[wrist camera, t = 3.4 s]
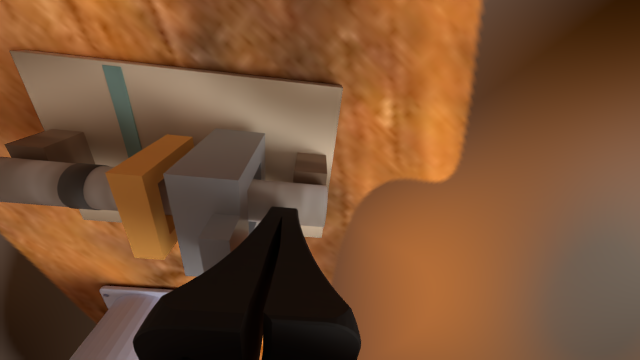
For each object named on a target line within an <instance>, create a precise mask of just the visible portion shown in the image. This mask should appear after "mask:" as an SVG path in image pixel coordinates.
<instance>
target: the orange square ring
mask: <svg viewBox="0 0 640 360" xmlns="http://www.w3.org/2000/svg"><path fill="white" fill-rule="evenodd" d="M193 148H194V143H193V137H189V136H179V135H168V134H167V135H165V136H164V137H162V138H160V139H159V140H157V141H155V142H154V143H152V144H151V145H149V146H147V147H146V148H144V149H143V150H141V151H139V152H138V153H136V154H135V155H133V156H131V157H130V158H128V159H127V160H125V161H123V162H122V163H120V164H119V165H117V166H115V167H114V168H112V169H110V170H109V171H107V172H106V173H105V174H106V177H107V180H108V183H109V186H110V189H111V192H112V194H113V197H114V200H115V203H116V206H117V209H118V212H119V215H120V217H121V220H122V223H123V226H124V229H125V232H126V235H127V237H128V240H129V243H130V246H131V249H132V252H133V255H134V258H146V259H160V260H164V259H165V258H166V257H167V255H168V254H169V252H170V251H171V249H172V248H173V247H174V245H175V244H176V242H177V241H178V239H177V234H176V230H175V225H174V221H173V216H172V215H165V212H164V208H163V204H162V200H161V196H160V191H159V187H158V183H159V182H160V181H161V180H162V179H164V176H163V174H164V173H165V172H166V171H167V170H168V169H169V168H171V167H172V166H173V165H174V164H175V163H176V162H177V161H179V160H180V159H181V158H182V157H183V156H184V155H186V154H187V153H188V152H189V151H190V150H191V149H193Z"/></svg>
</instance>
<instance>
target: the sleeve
mask: <svg viewBox="0 0 640 360" xmlns="http://www.w3.org/2000/svg"><path fill="white" fill-rule="evenodd" d="M163 176H164V180H165V185H166V189H167V194H168V198H169V203H170V207H171V212H172V216H173V221H174V225H175V230H176V234H177V239H178V243H179V248H180V252H181V257H182V261H183V266H184V270H185V275H186V276H199V275H201V274H202V273H204V272H205V271H207V270H208V269H210V268H211V267H213V266H214V265H215V264H217V263H218V262H219V261H221V260H222V259H223V258H224V257H226V256H227V255H228V254H229V253H231V252H232V251H233V250H234V249H235V248H236V247H237V246H238V245H239V244H241V243H242V242H243V241H244V240H245V238H246V237H247V236H248V235H249V234H250V233H251V232H252V231H253V230H254V229H255V228H256V226H257V225H258V224H259V223H260V222H252V221H248V196H247V190H248V188H249V186H250V184H251V182H252V180H253V179H257V180H265V133H258V132H248V131H238V130H228V129H217V128H216V129H215V130H213V131H212V132H211V133H210V134H209V135H208V136H206V137H205V138H204V139H203V140H202V141H201V142H200V143H198V144H197V145H196V146H195V147H194V148H193V149H191V150H190V151H189V152H188V153H187V154H186V155H184V156H183V157H182V158H181V159H180V160H179V161H177V162H176V163H175V164H174V165H173V166H172V167H171V168H169V169H168V170H167V171H166V172H165V173H164V174H163Z"/></svg>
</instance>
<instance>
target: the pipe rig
mask: <svg viewBox="0 0 640 360" xmlns="http://www.w3.org/2000/svg"><path fill="white" fill-rule="evenodd" d="M10 53H11V56H12V58H13V60H14V62H15V65H16V67H17V69H18V72H19V74H20V76H21V78H22V81H23V83H24V85H25V87H26V90H27V92H28V94H29V97H30V99H31V101H32V103H33V106H34V108H35V110H36V112H37V115H38V117H39V119H40V122H41V124H42V126H43V128H44V132H41V133H38V134H35V135H32V136H29V137H26V138H23V139H20V140H17V141H14V142H11V143H8V144H5V146H6V148H7V150H8V152H9V154H10V156H11V157H12V158H8V157H0V202H11V203H24V204H36V205H49V206H62V207H69V208H75V209H79V210H80V213H81V215H82V217H83V219H84V220H95V221H108V222H121V223H122V220H121V217H120V215H119V212H118V209H117V206H116V203H115V200H114V197H113V194H112V192H111V189H110V186H109V183H108V180H107V177H106V174H105V173H106V172H107V171H109V170H110V169H112V168H114V167H115V166H117V165H119V164H120V163H122V162H123V161H125V160H127V159H128V158H130V157H131V156H133V155H135V154H136V153H138V152H139V151H141V150H143V149H144V148H146V147H147V146H149V145H151V144H152V143H154V142H155V141H157V140H159V139H160V138H162V137H164V136H165V135H167V134H168V135H179V136H189V137H193V143H194V147H195V146H196V145H197V144H198V143H200V142H201V141H202V140H203V139H204V138H205V137H206V136H208V135H209V134H210V133H211V132H212V131H213V130H215V129H216V128H217V129H228V130H238V131H248V132H258V133H265V180H257V179H253V180H252V182H251V184H250V186H249V188H248V190H247V196H248V221H252V222H261V220H262V219H263V218H264V217H265V215H266V214H267V212H268V211H269V209H270V208H271V207H272V206H273V207H285V208H296V209H297V210H298V216H299V221H300V225H301V229H302V232H303V235H304V237H317V238H322V231H323V227H324V225H325V219H326V211H327V196H328V189H329V182H330V175H331V168H332V161H333V154H334V147H335V140H336V133H337V126H338V119H339V112H340V105H341V98H342V91H343V87H342V85H334V84H325V83H316V82H308V81H299V80H290V79H281V78H272V77H263V76H254V75H245V74H236V73H227V72H218V71H209V70H201V69H192V68H183V67H174V66H165V65H156V64H147V63H138V62H129V61H120V60H111V59H102V58H93V57H85V56H76V55H67V54H58V53H49V52H40V51H31V50H15V51H10ZM158 187H159V191H160V196H161V200H162V204H163V208H164V212H165V215H172V212H171V207H170V203H169V198H168V194H167V189H166V185H165V180H164V179H162V180H161V181H160V182H159V183H158Z"/></svg>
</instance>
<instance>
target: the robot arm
mask: <svg viewBox="0 0 640 360" xmlns="http://www.w3.org/2000/svg"><path fill="white" fill-rule="evenodd" d="M99 291H100V293H101V295H102V297H103V300H104V302H105V304H106V306H107V308H108V311H107V312H106V313H105V315H104V316H103V317H102V319H101V320H100V321H99V322H98V324H97V325H96V326H95V328H94V329H93V330H92V331H91V333H90V334H89V335H88V337H87V338H86V339H85V340H84V342H83V343H82V344H81V346H80V347H79V348H78V350H77V351H76V352H75V353H74V355H73V356H72V357H71V358H70V360H259V357H260V350H261V344H262V338H263V355H262V360H357V357H358V354H359V351H360V348H361V339H360V334H359V330H358V326H357V323H356V320H355V317H354V315H353V312H352V309H351V308H350V307H349V305H348V304H346V302H345V301H344V300H343V299H342V298H341V297H340V295H339V294H338V293H337V292H336V291H335V290H334V288H333V287H332V286H331V284H330V283H329V281H328V280H327V279H326V277H325V276H324V274H323V273H322V271H321V270H320V268H319V267H318V265H317V263H316V261H315V260H314V258H313V256H312V254H311V252H310V250H309V248H308V245H307V243H306V240H305V238H304V235H303V232H302V229H301V225H300V221H299V216H298V210H297V209H296V208H285V207H273V206H272V207H271V208H270V209H269V211H268V212H267V214H266V215H265V217H264V218H263V219H262V220H261V222H260V223H259V224H258V225H257V226H256V228H255V229H254V230H253V231H252V232H251V233H250V234H249V235H248V236H247V237H246V238H245V240H244V241H243V242H242V243H241V244H239V245H238V246H237V247H236V248H235V249H234V250H233V251H232V252H231V253H229V254H228V255H227V256H226V257H224V258H223V259H222V260H221V261H219V262H218V263H217V264H215V265H214V266H213V267H211V268H210V269H208V270H207V271H205V272H204V273H202V274H201V275H199V276H198V277H196V278H194V279H193V280H191V281H189V282H188V283H186V284H184V285H182V286H180V287H178V288H176V289H175V290H167V289H151V288H135V287H119V286H102V288H101V289H100V290H99Z"/></svg>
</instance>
